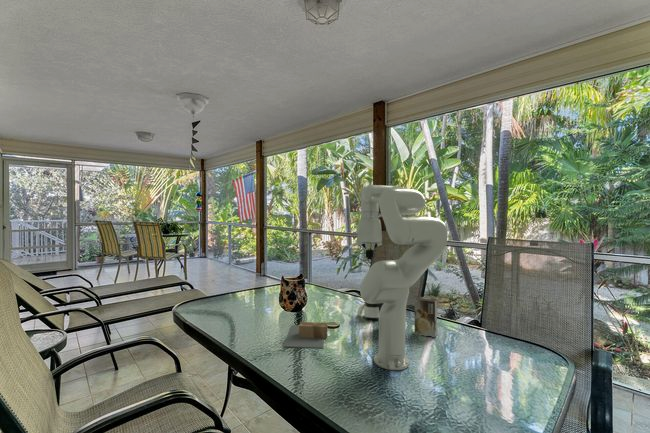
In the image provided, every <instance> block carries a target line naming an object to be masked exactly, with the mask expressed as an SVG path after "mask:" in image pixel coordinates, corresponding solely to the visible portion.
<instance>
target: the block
mask: <svg viewBox="0 0 650 433" xmlns="http://www.w3.org/2000/svg"><path fill="white" fill-rule="evenodd" d="M299 337H302V338H324V339H328V322H320V321H319V322H316V321H315V322H314V321H313V322H312V321H300V323H299Z"/></svg>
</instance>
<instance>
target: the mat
mask: <svg viewBox="0 0 650 433" xmlns="http://www.w3.org/2000/svg"><path fill="white" fill-rule="evenodd" d="M299 325H300V324H299ZM299 325H295V324H292V325H291V327H290V329H289V332H288V335H287V337H286V339H285V342H284V343H283V346H282V347H283V348H294V349H295V348H296V349H297V348H298V349H299V348H301V349H324V344H325V338H302V337H299Z"/></svg>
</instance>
